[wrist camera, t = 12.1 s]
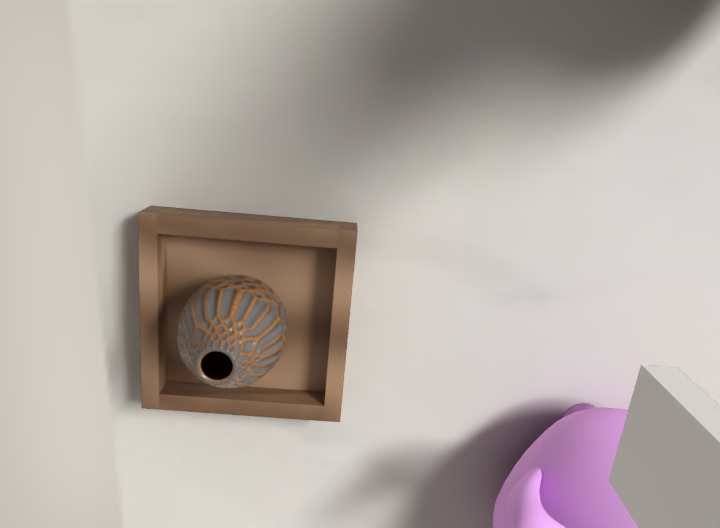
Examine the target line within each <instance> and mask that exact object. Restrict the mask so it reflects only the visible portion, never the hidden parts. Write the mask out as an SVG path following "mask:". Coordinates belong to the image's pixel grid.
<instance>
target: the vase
mask: <svg viewBox="0 0 720 528" xmlns="http://www.w3.org/2000/svg"><path fill="white" fill-rule="evenodd" d="M287 335H288V319H287V314H286V311H285V308H284V305H283V303H282V301H281V299H280V298H279V296H278V295H277V294H276V293H275V291H274V290H273V289H272V288H271V287H269V286H268V285H267V284H265V283H264V282H262V281H260V280H258V279H256V278H253V277H250V276H245V275H227V276H222V277H219V278H216V279H214V280H212V281H209V282H208V283H206V284H205V285H203V286H202V287H201V288H199V289H198V290H197V291H196V292H195V293H194V294H193V295H192V296H191V298H190V299H189V300H188V302H187V303H186V305H185V306H184V308H183V310H182V312H181V315H180V318H179V322H178V327H177V344H178V349H179V353H180V355H181V358H182V360H183V362H184V364H185V365H186V367H187V368H188V369H189V370H190V372H191V373H192V374H193V375H195V376H196V377H197V378H198V379H200V380H201V381H203V382H205V383H207V384H209V385H212V386H215V387H220V388H238V387H243V386H246V385H249V384H251V383H253V382H255V381H257V380H259V379H260V378H262V377H263V376H264V375H266V374H267V373H268V372H269V371H270V370H271V369H272V368H273V367H274V366H275V364H276V363H277V362H278V360H279V358H280V357H281V355H282V353H283V350H284V348H285V345H286V341H287Z"/></svg>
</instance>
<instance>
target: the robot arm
mask: <svg viewBox="0 0 720 528" xmlns="http://www.w3.org/2000/svg"><path fill="white" fill-rule="evenodd" d="M608 481H609V483H610V484H611V486H612V487H613V489H614V490H615V492H616V494H617V495H618V497H619V498H620V500H621V501H622V503H623V505H624V506H625V508H626V509H627V511H628V512H629V514H630V516H631V517H632V519H633V520H634V522H635V523H636V525H637V527H638V528H720V404H719V403H718V402H717V401H716V400H714V399H713V398H712V397H711V396H710V395H709V394H708V393H707V392H705V391H704V390H703V389H702V388H701V387H700V386H699V385H698V384H696V383H695V382H694V381H693V380H692V379H691V378H690V377H689V376H688V375H686V374H685V373H684V372H683V371H682V370H681V369H680V368H674V367H663V366H652V365H641V368H640V371H639V375H638V378H637V382H636V385H635V389H634V392H633V395H632V399H631V402H630V406H629V409H628V413H627V416H626V420H625V423H624V427H623V430H622V434H621V437H620V441H619V444H618V448H617V451H616V455H615V458H614V462H613V465H612V469H611V472H610V476H609V479H608Z"/></svg>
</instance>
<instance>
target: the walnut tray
mask: <svg viewBox="0 0 720 528" xmlns="http://www.w3.org/2000/svg"><path fill="white" fill-rule="evenodd" d="M356 241H357V223H347V222H335V221H324V220H312V219H300V218H288V217H277V216H265V215H253V214H241V213H230V212H218V211H206V210H194V209H183V208H171V207H159V206H150V207H148V208H147V209H145V210H143V211H141V212H140V213H138V250H139V299H140V348H141V398H142V408H146V409H160V410H175V411H189V412H203V413H217V414H232V415H246V416H260V417H274V418H289V419H303V420H317V421H332V422H340V415H341V404H342V393H343V382H344V371H345V360H346V350H347V339H348V328H349V317H350V306H351V295H352V284H353V273H354V263H355V252H356ZM227 275H245V276H250V277H253V278H256V279H258V280H260V281H262V282H264V283H265V284H267V285H268V286H269V287H271V288H272V289H273V290H274V291H275V293H276V294H277V295H278V296H279V298H280V299H281V301H282V303H283V305H284V308H285V311H286V314H287V319H288V335H287V341H286V345H285V348H284V350H283V353H282V355H281V357H280V358H279V360H278V362H277V363H276V364H275V366H274V367H273V368H272V369H271V370H270V371H269V372H268V373H267V374H266V375H264V376H263V377H262V378H260V379H259V380H257V381H255V382H253V383H251V384H249V385H246V386H243V387H238V388H220V387H215V386H212V385H209V384H207V383H205V382H203V381H201V380H200V379H198V378H197V377H196V376H195V375H193V374H192V373H191V372H190V370H189V369H188V368H187V367H186V365H185V364H184V362H183V360H182V358H181V355H180V353H179V349H178V344H177V327H178V322H179V318H180V315H181V312H182V310H183V308H184V306H185V305H186V303H187V302H188V300H189V299H190V298H191V296H192V295H193V294H194V293H195V292H196V291H197V290H198V289H199V288H201V287H202V286H203V285H205V284H206V283H208V282H209V281H212V280H214V279H216V278H219V277H222V276H227Z"/></svg>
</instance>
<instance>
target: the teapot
mask: <svg viewBox="0 0 720 528" xmlns="http://www.w3.org/2000/svg"><path fill="white" fill-rule="evenodd" d="M627 413H628V410H625V409H613V408H596V407H594V406H593V405H590V404H586V403H581V404H577V405H574V406H572V407H570V408H569V409H568V410H567V411H566V412H565V414H564V415H563V418H562V419H560V420H558V421H557V422H555V423H554V424H553V425H552V426H550V427H549V428H548V429H547V430H546V431H545V432H544V433H543V434H542V435H541V436H539V437H538V438H537V439H536V440H535V442H534V443H533V444H532V445H531V446H530V447H529V448H528V449H527V450H526V451H525V453H524V454H523V455H522V456H521V458H520V459H519V461H518V462H517V463H516V465H515V466H514V468H513V469H512V471H511V472H510V474H509V476H508V477H507V479H506V481H505V482H504V484H503V486H502V488H501V491H500V493H499V495H498V497H497V499H496V502H495V506H494V511H493V528H638V527H637V525H636V523H635V522H634V520H633V519H632V517H631V516H630V514H629V512H628V511H627V509H626V508H625V506H624V505H623V503H622V501H621V500H620V498H619V497H618V495H617V494H616V492H615V490H614V489H613V487H612V486H611V484H610V483H609V481H608V479H609V476H610V472H611V469H612V465H613V462H614V458H615V455H616V451H617V448H618V444H619V441H620V437H621V434H622V430H623V427H624V423H625V420H626V416H627Z"/></svg>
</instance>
